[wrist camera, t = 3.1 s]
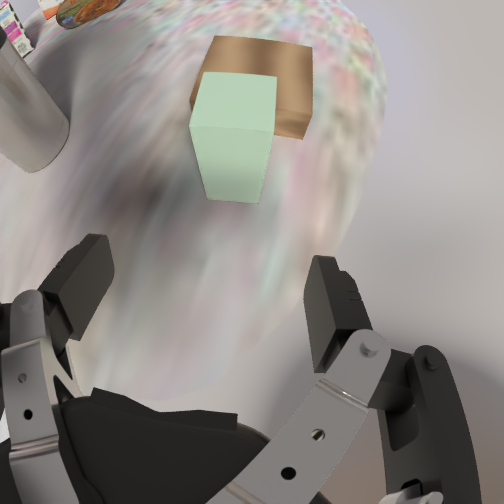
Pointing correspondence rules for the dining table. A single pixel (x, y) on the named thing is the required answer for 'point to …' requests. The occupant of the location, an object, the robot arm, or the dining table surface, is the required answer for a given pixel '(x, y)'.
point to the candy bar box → (15, 29)
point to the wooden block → (269, 64)
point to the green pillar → (233, 133)
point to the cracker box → (49, 7)
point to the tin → (82, 11)
